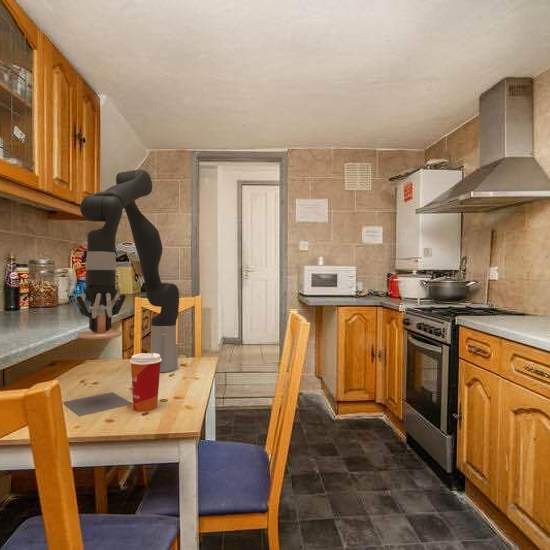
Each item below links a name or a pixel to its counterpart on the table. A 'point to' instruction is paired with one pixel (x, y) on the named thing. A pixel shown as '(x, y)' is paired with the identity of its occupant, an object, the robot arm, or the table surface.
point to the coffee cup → (145, 381)
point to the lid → (100, 330)
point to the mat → (96, 403)
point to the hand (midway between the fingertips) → (100, 330)
